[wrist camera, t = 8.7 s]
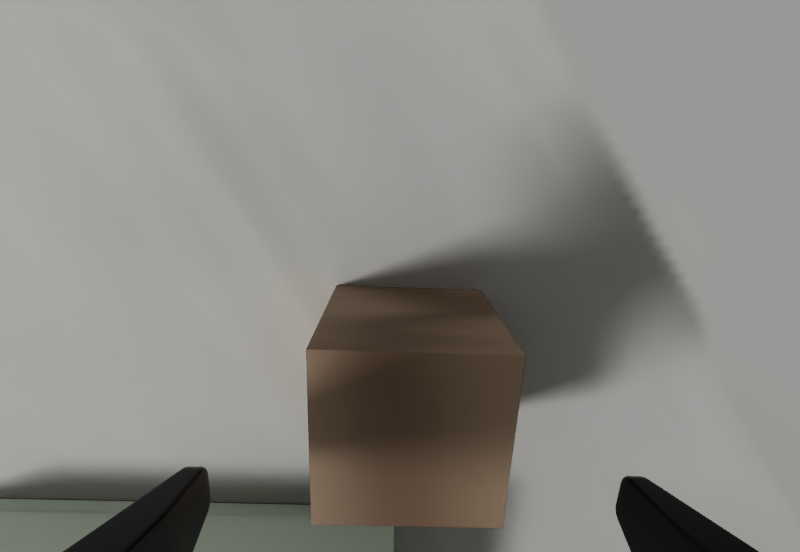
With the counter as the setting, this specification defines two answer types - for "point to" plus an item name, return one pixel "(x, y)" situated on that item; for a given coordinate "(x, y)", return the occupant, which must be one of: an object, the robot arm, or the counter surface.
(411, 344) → the walnut cube
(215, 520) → the box
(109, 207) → the counter surface
